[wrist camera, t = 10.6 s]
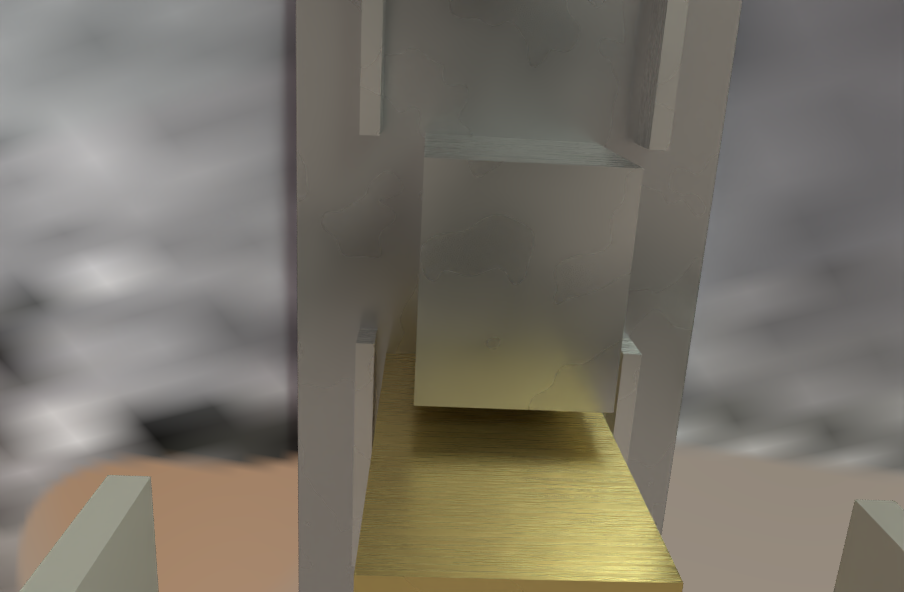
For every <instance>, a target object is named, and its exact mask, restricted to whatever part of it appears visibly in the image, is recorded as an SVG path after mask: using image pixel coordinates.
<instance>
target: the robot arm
mask: <svg viewBox="0 0 904 592" xmlns="http://www.w3.org/2000/svg"><path fill="white" fill-rule="evenodd" d="M152 504H153V503H152V488H151V477H148V476H117V475H115V476H114V475H108V476H107V477H106V478H105V480H104V481H103V482H102V484H101V485H100V487H99V488H98V489H97V490H96V492H95V493H94V494H93V496H92V497H91V498H90V499H89V501H88V502H87V503H86V505H85V506H84V507H83V509H82V510H81V511H80V513H79V514H78V515H77V517H76V518H75V519H74V520H73V522H72V523H71V524H70V526H69V527H68V528H67V530H66V531H65V532H64V534H63V535H62V536H61V538H60V539H59V540H58V541H57V543H56V544H55V545H54V547H53V548H52V549H51V551H50V552H49V553H48V555H47V556H46V557H45V559H44V560H43V561H42V563H41V564H40V565H39V566H38V568H37V569H36V570H35V572H34V573H33V574H32V576H31V577H30V578H29V580H28V581H27V582H26V584H25V585H24V586H23V587H22V589H21V590H20V591H19V592H158V577H157V562H156V548H155V532H154V518H153V505H152ZM834 592H904V510H903V509H902V508H901V507H900V506H899V505H898V504H897V503H896V502H895V501H885V500H884V501H883V500H855V502H854V506H853V510H852V515H851V519H850V523H849V528H848V532H847V537H846V541H845V545H844V549H843V554H842V558H841V562H840V567H839V571H838V575H837V579H836V584H835V588H834Z"/></svg>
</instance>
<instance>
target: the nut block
mask: <svg viewBox="0 0 904 592" xmlns="http://www.w3.org/2000/svg"><path fill="white" fill-rule="evenodd" d="M415 362H416V354H389V353H386V358H385V365H384V371H383V378H382V385H381V392H380V399H379V406H378V413H377V420H376V426H375V433H374V440H373V447H372V454H371V461H370V468H369V475H368V482H367V488H366V495H365V502H364V509H363V516H362V523H361V530H360V537H359V543H358V550H357V557H356V564H355V571H354V592H682V589H683V581H682V579H681V577H680V575H679V573H678V571H677V569H676V567H675V565H674V562H673V560H672V558H671V556H670V554H669V552H668V550H667V548H666V546H665V544H664V542H663V540H662V537H661V535H660V533H659V531H658V529H657V527H656V525H655V523H654V521H653V518H652V516H651V514H650V512H649V510H648V508H647V506H646V504H645V502H644V500H643V498H642V495H641V493H640V491H639V489H638V487H637V485H636V483H635V481H634V479H633V477H632V475H631V472H630V470H629V468H628V466H627V464H626V462H625V460H624V458H623V456H622V454H621V452H620V449H619V447H618V445H617V443H616V441H615V439H614V437H613V435H612V433H611V431H610V428H609V426H608V424H607V422H606V420H605V418H604V416H603V414H602V413H601V412H574V411H546V410H519V409H492V408H465V407H438V406H414V386H415Z"/></svg>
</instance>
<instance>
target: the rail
mask: <svg viewBox="0 0 904 592" xmlns="http://www.w3.org/2000/svg"><path fill="white" fill-rule="evenodd" d="M741 6H742V0H296V147H297V336H298V513H299V514H298V520H299V522H298V523H299V592H354V571H355V564H356V557H357V550H358V543H359V537H360V530H361V523H362V516H363V509H364V502H365V495H366V488H367V482H368V475H369V468H370V461H371V454H372V447H373V440H374V433H375V426H376V420H377V413H378V406H379V399H380V392H381V385H382V378H383V371H384V365H385V358H386V353H389V354H416V362H415V386H414V406H438V407H465V408H492V409H519V410H546V411H574V412H601V413H602V414H603V416H604V418H605V420H606V422H607V424H608V426H609V428H610V431H611V433H612V435H613V437H614V439H615V441H616V443H617V445H618V447H619V449H620V452H621V454H622V456H623V458H624V460H625V462H626V464H627V466H628V468H629V470H630V472H631V475H632V477H633V479H634V481H635V483H636V485H637V487H638V489H639V491H640V493H641V495H642V498H643V500H644V502H645V504H646V506H647V508H648V510H649V512H650V514H651V516H652V518H653V521H654V523H655V525H656V527H657V529H658V531H659V533H660V535H661V533H662V527H663V520H664V514H665V507H666V501H667V493H668V487H669V481H670V474H671V467H672V461H673V454H674V448H675V441H676V435H677V428H678V421H679V415H680V408H681V402H682V395H683V388H684V382H685V375H686V369H687V362H688V355H689V349H690V342H691V336H692V329H693V323H694V316H695V309H696V303H697V296H698V290H699V283H700V276H701V270H702V263H703V257H704V250H705V243H706V237H707V230H708V224H709V217H710V210H711V204H712V197H713V191H714V184H715V177H716V171H717V164H718V158H719V151H720V144H721V138H722V131H723V125H724V118H725V112H726V105H727V98H728V92H729V85H730V79H731V72H732V65H733V59H734V52H735V46H736V39H737V32H738V26H739V19H740V13H741Z"/></svg>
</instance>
